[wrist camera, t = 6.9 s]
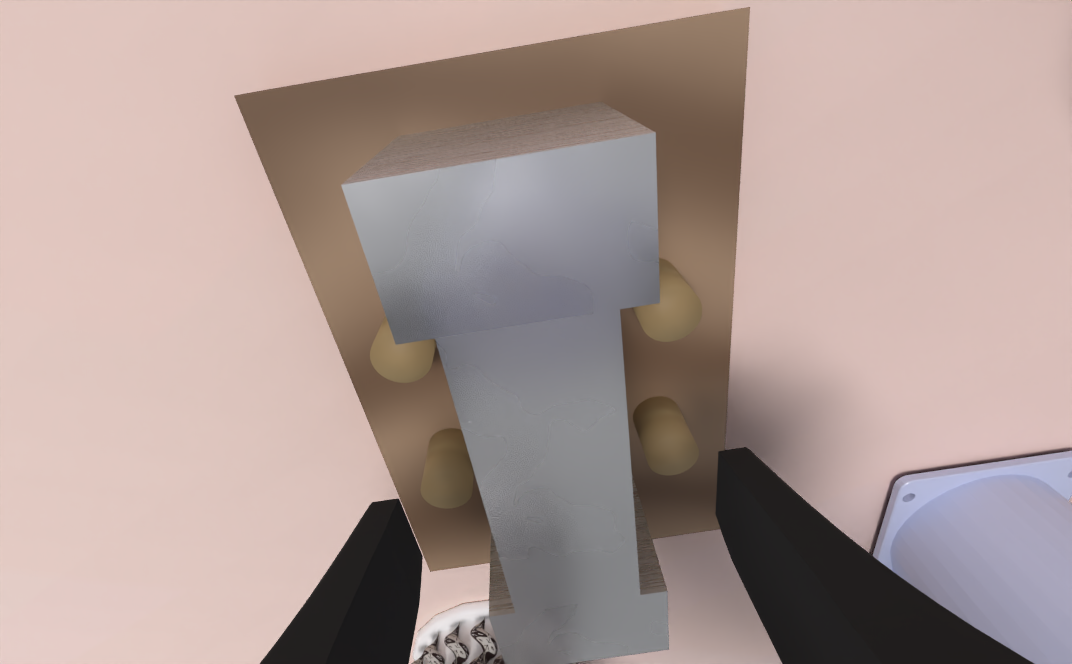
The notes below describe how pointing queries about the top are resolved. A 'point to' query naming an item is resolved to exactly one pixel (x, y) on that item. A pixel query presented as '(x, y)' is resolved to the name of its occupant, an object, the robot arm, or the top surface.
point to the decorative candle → (459, 637)
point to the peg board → (647, 331)
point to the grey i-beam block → (534, 353)
